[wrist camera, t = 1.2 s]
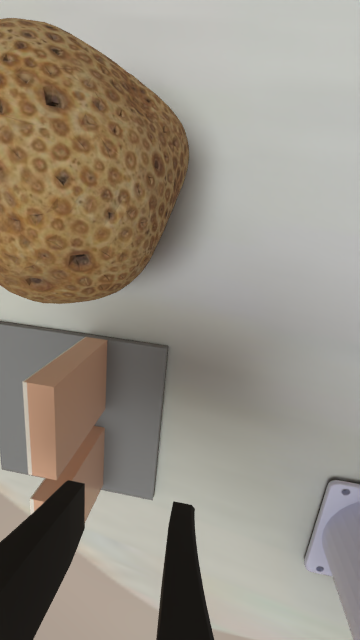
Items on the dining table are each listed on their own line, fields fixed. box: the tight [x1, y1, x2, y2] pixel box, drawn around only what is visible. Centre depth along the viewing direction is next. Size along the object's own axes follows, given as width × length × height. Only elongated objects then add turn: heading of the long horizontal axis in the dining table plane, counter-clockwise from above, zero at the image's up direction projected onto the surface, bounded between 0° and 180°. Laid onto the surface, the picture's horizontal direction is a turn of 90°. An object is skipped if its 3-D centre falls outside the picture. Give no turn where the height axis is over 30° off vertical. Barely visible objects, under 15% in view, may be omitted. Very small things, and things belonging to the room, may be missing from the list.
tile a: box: [22, 337, 107, 480], centre depth 16 cm, size 2×5×6 cm, turn 174°
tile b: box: [30, 426, 105, 521], centre depth 18 cm, size 2×5×6 cm, turn 174°
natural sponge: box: [0, 18, 189, 304], centre depth 11 cm, size 9×9×10 cm
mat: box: [0, 321, 168, 500], centre depth 20 cm, size 12×12×1 cm
